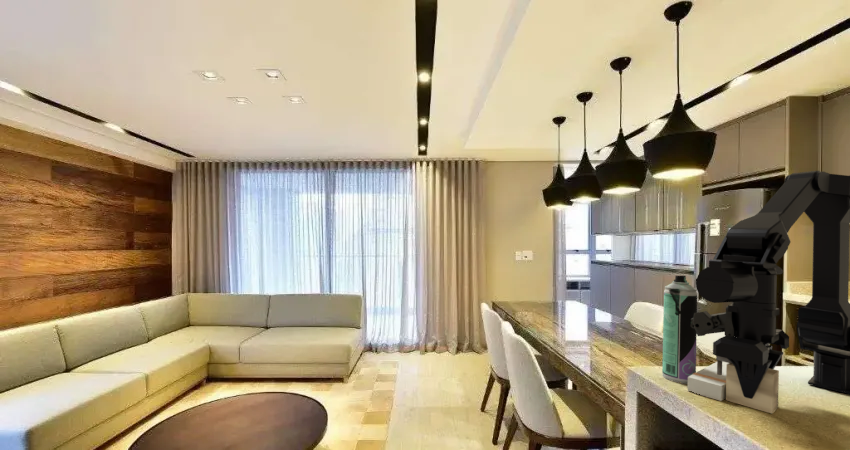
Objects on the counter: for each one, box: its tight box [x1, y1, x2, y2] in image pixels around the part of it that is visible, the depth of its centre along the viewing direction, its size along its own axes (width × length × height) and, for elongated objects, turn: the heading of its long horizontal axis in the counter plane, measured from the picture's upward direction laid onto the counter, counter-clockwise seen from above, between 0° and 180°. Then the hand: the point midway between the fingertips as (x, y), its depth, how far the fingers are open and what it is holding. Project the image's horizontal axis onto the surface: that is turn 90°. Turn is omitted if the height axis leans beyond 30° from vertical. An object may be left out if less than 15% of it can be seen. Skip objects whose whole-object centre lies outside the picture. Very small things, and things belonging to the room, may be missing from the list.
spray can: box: [661, 275, 698, 384], centre depth 77 cm, size 6×6×20 cm
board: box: [687, 361, 728, 402], centre depth 74 cm, size 18×5×3 cm, turn 128°
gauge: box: [715, 355, 780, 414], centre depth 67 cm, size 4×8×7 cm, turn 38°
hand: (751, 394), depth 66 cm, fingers closed on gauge, 4 cm apart
